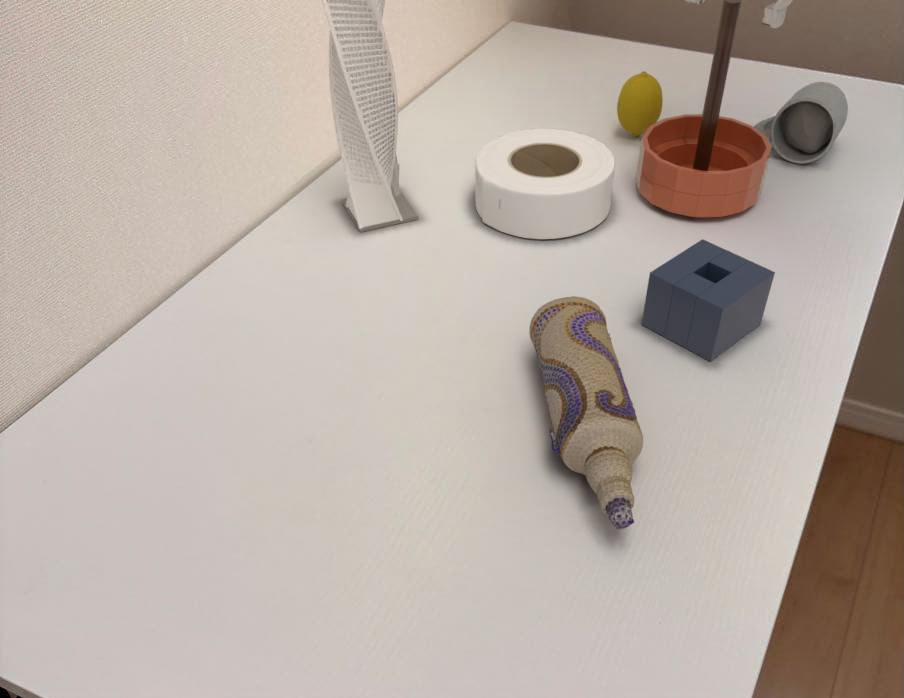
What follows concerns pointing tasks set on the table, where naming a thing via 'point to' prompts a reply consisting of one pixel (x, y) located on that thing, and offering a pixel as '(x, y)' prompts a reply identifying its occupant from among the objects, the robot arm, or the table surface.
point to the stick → (716, 83)
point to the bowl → (695, 191)
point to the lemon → (639, 103)
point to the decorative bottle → (588, 401)
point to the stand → (706, 299)
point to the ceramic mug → (807, 123)
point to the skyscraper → (365, 113)
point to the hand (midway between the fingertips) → (732, 13)
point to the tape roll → (544, 183)
